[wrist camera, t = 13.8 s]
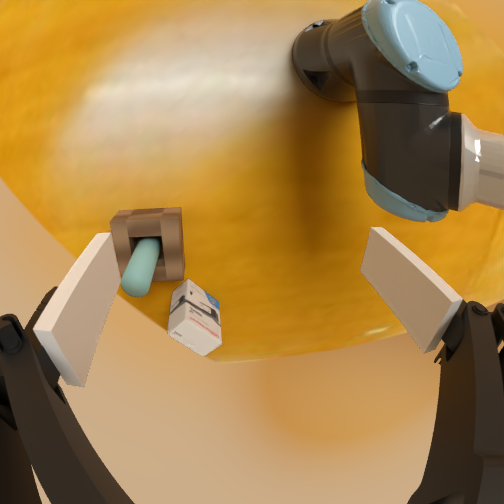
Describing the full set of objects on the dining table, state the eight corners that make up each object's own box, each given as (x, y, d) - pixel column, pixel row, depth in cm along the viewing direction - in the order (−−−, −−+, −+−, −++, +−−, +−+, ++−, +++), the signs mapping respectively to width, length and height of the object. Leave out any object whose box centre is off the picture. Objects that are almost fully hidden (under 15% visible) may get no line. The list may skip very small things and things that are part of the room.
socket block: (119, 210, 42) (109, 221, 37) (181, 207, 43) (178, 218, 39) (128, 266, 47) (121, 281, 43) (185, 264, 49) (183, 280, 44)
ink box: (220, 301, 54) (224, 344, 44) (203, 314, 55) (204, 358, 45) (188, 277, 50) (185, 319, 40) (171, 292, 51) (165, 335, 41)
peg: (140, 228, 44) (118, 272, 32) (162, 227, 45) (146, 271, 32) (143, 249, 46) (124, 297, 34) (164, 248, 47) (151, 297, 34)
